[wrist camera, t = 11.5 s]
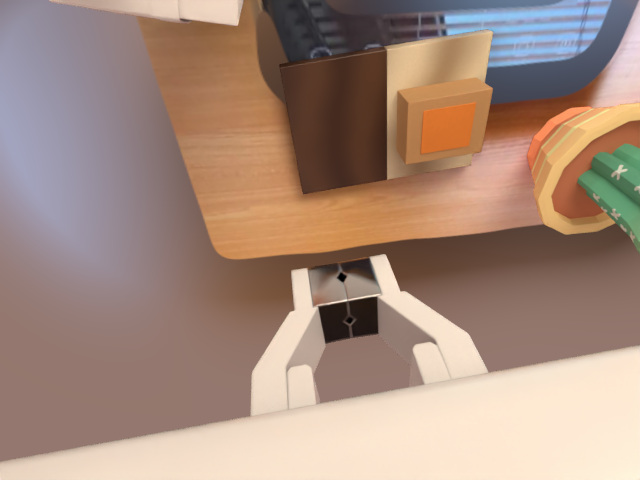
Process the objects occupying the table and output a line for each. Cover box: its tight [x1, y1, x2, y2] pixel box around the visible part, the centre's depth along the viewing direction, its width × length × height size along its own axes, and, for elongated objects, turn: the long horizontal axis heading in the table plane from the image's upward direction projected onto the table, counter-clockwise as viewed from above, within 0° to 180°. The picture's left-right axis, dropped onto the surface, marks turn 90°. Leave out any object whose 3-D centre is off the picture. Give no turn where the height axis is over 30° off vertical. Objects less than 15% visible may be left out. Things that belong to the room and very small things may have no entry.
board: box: [279, 29, 493, 194], centre depth 39 cm, size 20×14×1 cm
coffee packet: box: [396, 77, 493, 165], centre depth 37 cm, size 8×6×4 cm
